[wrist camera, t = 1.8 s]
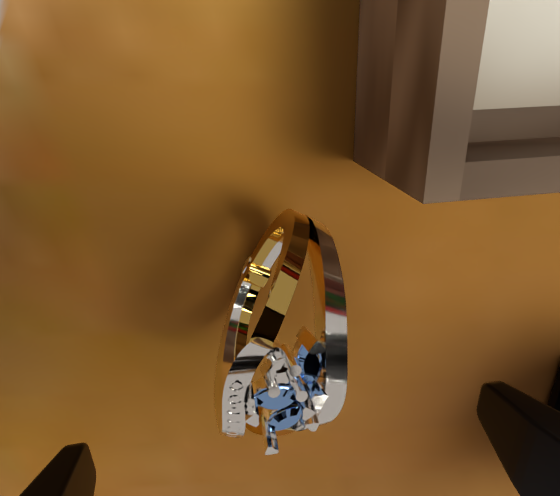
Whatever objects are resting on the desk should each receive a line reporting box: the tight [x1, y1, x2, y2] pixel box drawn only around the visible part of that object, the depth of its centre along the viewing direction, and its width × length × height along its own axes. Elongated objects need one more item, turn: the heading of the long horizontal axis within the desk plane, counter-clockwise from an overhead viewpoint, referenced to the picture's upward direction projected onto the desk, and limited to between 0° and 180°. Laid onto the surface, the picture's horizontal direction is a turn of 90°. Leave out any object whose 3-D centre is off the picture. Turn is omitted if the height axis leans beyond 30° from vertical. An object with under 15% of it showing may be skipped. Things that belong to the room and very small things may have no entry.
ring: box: [214, 209, 347, 455], centre depth 13 cm, size 7×3×8 cm, turn 153°
